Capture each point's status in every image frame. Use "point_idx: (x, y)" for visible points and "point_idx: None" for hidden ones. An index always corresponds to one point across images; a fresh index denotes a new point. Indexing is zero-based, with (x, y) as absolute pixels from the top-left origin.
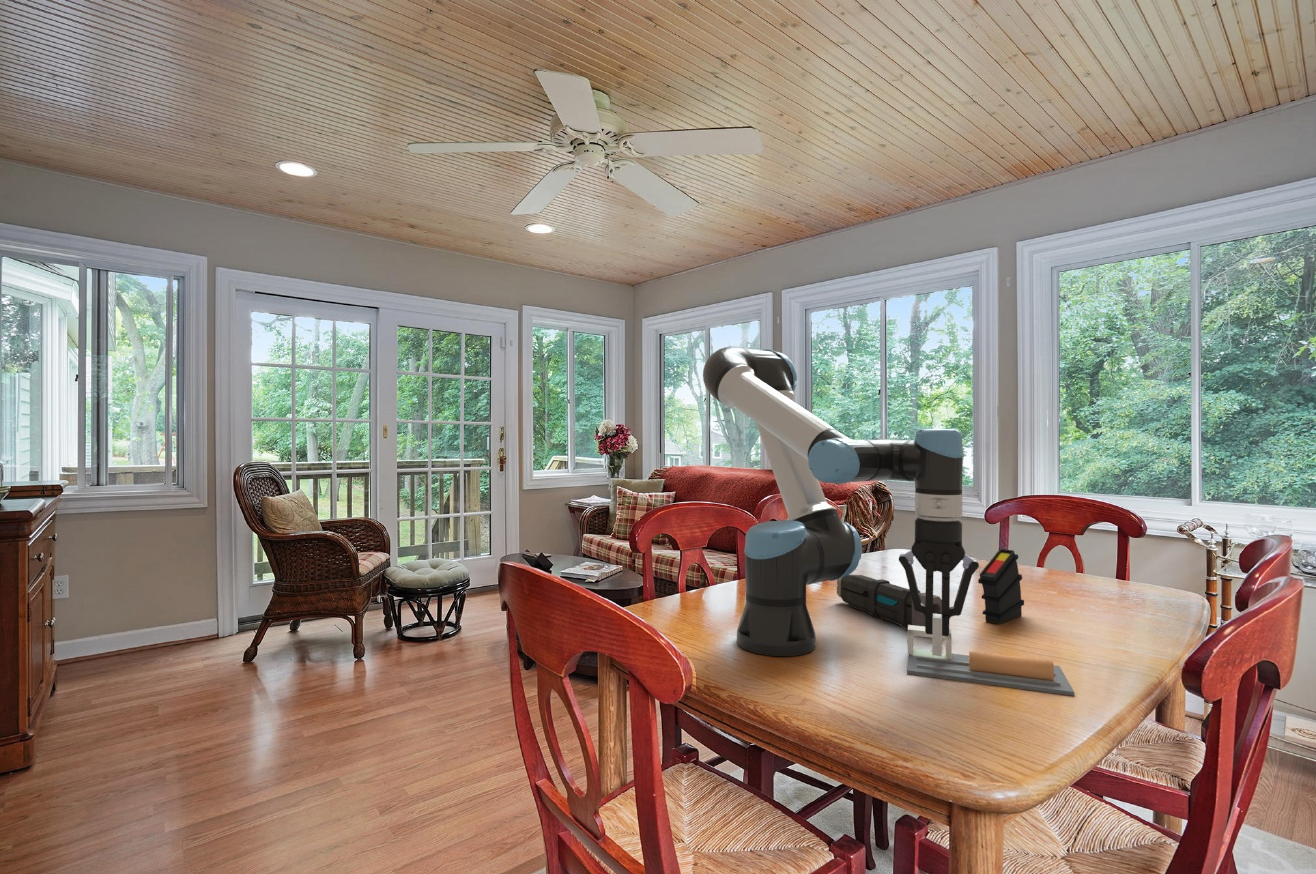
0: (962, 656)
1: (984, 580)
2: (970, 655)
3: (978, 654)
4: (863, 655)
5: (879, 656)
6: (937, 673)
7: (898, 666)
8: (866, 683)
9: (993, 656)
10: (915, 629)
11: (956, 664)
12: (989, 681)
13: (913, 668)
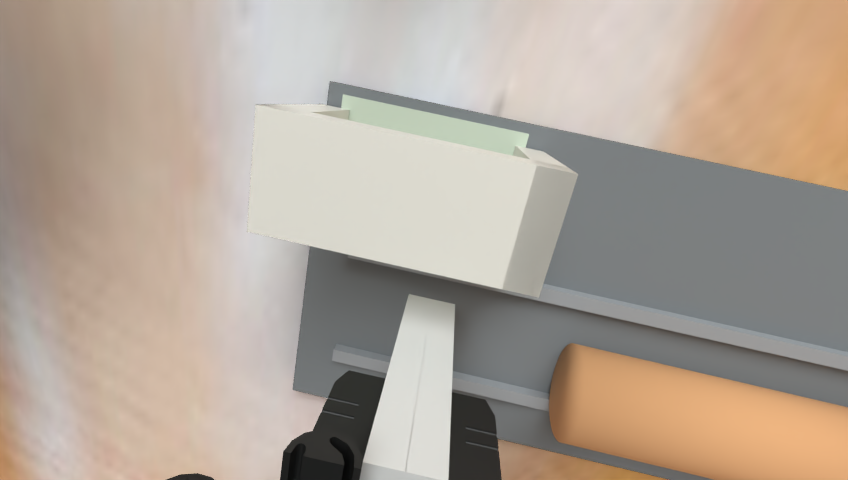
0: (597, 173)
1: None
2: (567, 443)
3: (612, 446)
4: (119, 184)
5: (189, 186)
6: None
7: (270, 303)
8: (162, 469)
9: (683, 467)
10: (299, 227)
11: (520, 300)
12: (592, 459)
13: (319, 368)
